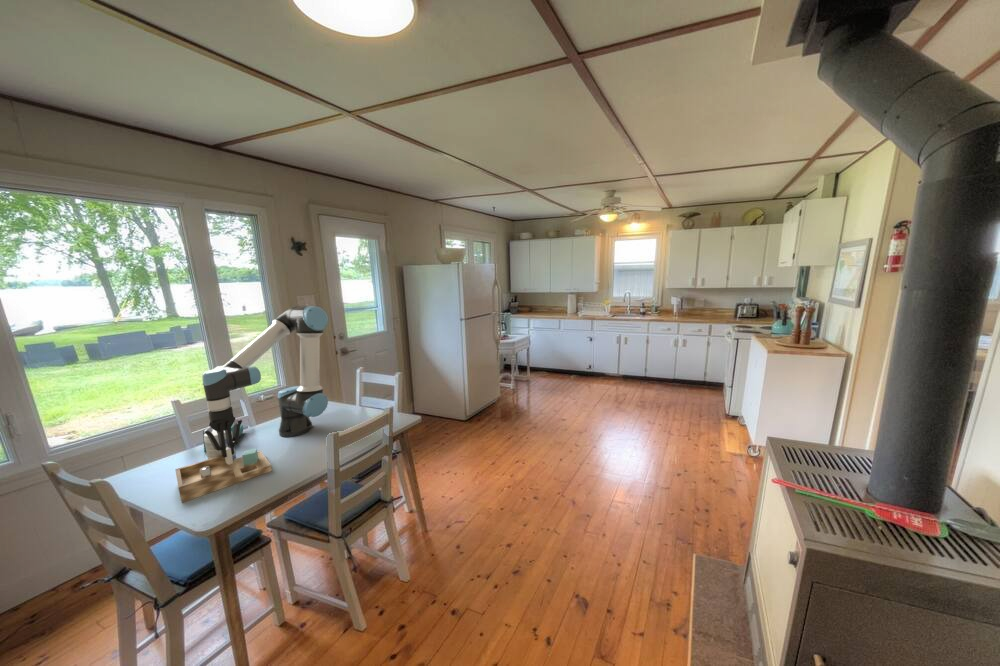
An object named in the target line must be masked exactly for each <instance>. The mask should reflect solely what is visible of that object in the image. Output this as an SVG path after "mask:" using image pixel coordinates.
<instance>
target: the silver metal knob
mask: <svg viewBox="0 0 1000 666" xmlns="http://www.w3.org/2000/svg"><path fill="white" fill-rule="evenodd" d="M200 474H201V478H205V477H208V476H211V470H210V466H206V467H203V468H201V469H200Z"/></svg>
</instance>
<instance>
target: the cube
mask: <svg viewBox="0 0 1000 666" xmlns="http://www.w3.org/2000/svg"><path fill="white" fill-rule="evenodd" d="M257 452H258V448H257V447H256V448H252V449H251V448H250V449H248V450H244V451H243V453H242V456H241V457H242V458H243V463H244V466H245V465H249V464H254V463H257V461H258V453H257Z"/></svg>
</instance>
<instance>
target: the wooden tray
mask: <svg viewBox="0 0 1000 666" xmlns="http://www.w3.org/2000/svg"><path fill="white" fill-rule="evenodd" d="M257 453H258V461H257V463H254V464H249V465H245V466H244V463H243V458H242V456H241V457H238V458H237V457H236V459H234V460H233V463H232V464H230V465H228V464H227V463H226V460H225V458H224V457H222V455H221V456H217V457H214V458H211V459H208V458H207V459H205V460H202V461H197V462H195V463H191V464H188V465H185V466H182V467H181V466H180V467H178V468H175V475H176V482H177V487H178V492H179V497H180V502H181V503H185V502H188V501H190V500H193V499H196V498H199V497H202V496H204V495H208V494H210V493H214V492H216V491H218V490H222V489H225V488H226V487H230V486H232V485H233V486H234V485H236V484H239V483H241V482H244V481H246V480H250V479H252V478H255V477H258V476H260V475H264V474H267V473H269V472H271V471H272V465H271V463H270V462H269V460H268V459H267V458H266V456H265V455H264V453H263V452H262V451H261V450H259V451H257ZM206 466H210V470H211V476H208V477H205V478H201V474H200V469H201V468H203V467H206ZM181 503H180V504H181Z"/></svg>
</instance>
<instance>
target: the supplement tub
mask: <svg viewBox="0 0 1000 666" xmlns="http://www.w3.org/2000/svg"><path fill="white" fill-rule="evenodd" d="M212 434H213V435H214V437H215V439H216V441H217V443H218V444H219V440H218V434H217V431H215V430H214V429H212ZM231 434H232V431H231ZM224 438H225V444H226V447H228V446H227V440H226V434H225V431H224ZM232 439H233V435H232ZM204 442H205V447H206V452H205V453H206V457H207V460H208V459H211V458H214V457H217V456H221V455H222V454H221V450H219V451H217V450H215V449H214V447H213V445H212V443H211V441H210V440H209V438H208V436H207V435H206V434H204V440H203V443H204ZM219 446H220V445H219ZM235 447H236V446H234V454H233V455H232V459H233V460H234V459H237V454H236V448H235Z"/></svg>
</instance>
